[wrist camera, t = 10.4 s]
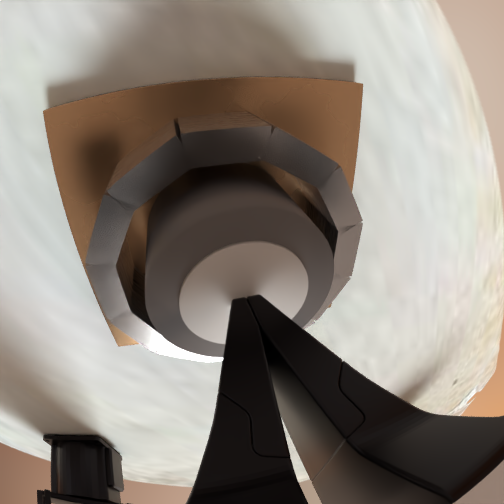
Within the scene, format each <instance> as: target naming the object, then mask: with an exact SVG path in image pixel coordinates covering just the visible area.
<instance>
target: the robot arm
mask: <svg viewBox="0 0 504 504" xmlns="http://www.w3.org/2000/svg"><path fill="white" fill-rule="evenodd" d="M280 415H281V416H280ZM281 417H282V419H283V421H284V424H285V426H286V428H287V430H288V433H289V435H290V437H291V439H292V441H293V443H294V446H295V448H296V450H297V452H298V454H299V456H300V459H301V461H302V463H303V465H304V467H305V469H306V471H307V473H308V475H309V478H310V480H311V481H312V484H313V486H314V488H315V490H316V492H317V494H318V496H319V498H320V500H321V502H322V504H504V416H500V417H468V416H450V415H438V414H433V413H429V412H426V411H423V410H421V409H419V408H417V407H415V406H413V405H411V404H410V403H408V402H406V401H404V400H403V399H401V398H399V397H397V396H396V395H394V394H392V393H390V392H389V391H387V390H385V389H384V388H382V387H380V386H379V385H377V384H376V383H374V382H372V381H371V380H369V379H368V378H366V377H365V376H363V375H362V374H361V373H359V372H358V371H357V370H355V369H354V368H352V367H351V366H350V365H349V364H347V363H346V362H345V361H343V362H342V359H341V358H339V357H338V356H337V355H336V354H334V353H333V352H332V351H330V350H329V349H328V348H327V347H325V346H324V345H323V344H322V343H320V342H319V341H318V340H316V339H315V338H314V337H313V336H311V335H310V334H309V333H308V332H306V331H305V330H304V329H303V328H301V327H300V326H299V325H298V324H296V323H295V322H294V321H293V320H291V319H290V318H289V317H288V316H286V315H285V314H284V313H283V312H281V311H280V310H279V309H278V308H276V307H275V306H274V305H273V304H271V303H270V302H269V301H268V300H267V299H265V298H264V297H263V296H262V295H260V294H257V295H252V296H248V297H247V298H245V297H241V298H235V299H233V300H232V302H231V308H230V315H229V321H228V328H227V334H226V341H225V348H224V355H223V362H222V368H221V375H220V382H219V389H218V395H217V402H216V408H215V414H214V419H213V424H212V428H211V431H210V435H209V439H208V442H207V446H206V449H205V452H204V455H203V458H202V462H201V465H200V468H199V471H198V474H197V478H196V481H195V483H194V486H193V489H192V491H191V494H190V496H189V498H188V500H187V502H186V504H308V502H307V500H306V498H305V496H304V494H303V492H302V489H301V487H300V485H299V483H298V480H297V478H296V475H295V472H294V469H293V465H292V461H291V459H290V453H289V449H288V445H287V441H286V437H285V432H284V428H283V424H282V420H281ZM43 440H44V441H45V442H47V443H48V444H49V445H51V491H50V490H46V489H45V490H44V491H41V490H37V502H38V504H51V503H53V504H121V499H120V492H122V491H123V490H124V484H123V475H122V465H121V461H122V456H121V455H120V454H118V453H117V452H116V451H115V450H114V449H112V448H111V447H110V446H109V445H108V444H107V443H106V442H104V441H103V440H102V439H101V438H100V437H97V436H51V435H44V436H43ZM127 504H129V503H127Z"/></svg>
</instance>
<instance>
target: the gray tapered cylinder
mask: <svg viewBox="0 0 504 504" xmlns="http://www.w3.org/2000/svg"><path fill="white" fill-rule="evenodd" d="M333 276H334V259H333V254H332V250H331V248H330V245H329V243H328V241H327V240H326V238H325V236H324V235H323V234H322V232H321V231H320V230H319V229H318V228H317V227H316V225H315V224H314V223H313V222H312V221H311V220H310V218H309V217H308V216H307V215H306V214H305V213H304V212H303V210H302V209H301V208H300V207H299V206H298V205H297V204H296V203H295V201H294V200H293V199H292V198H291V197H290V196H289V195H288V194H287V193H286V191H285V190H284V189H283V188H282V187H281V186H280V185H279V184H278V183H277V182H276V181H275V180H274V179H273V177H271V176H270V175H269V174H267V173H266V172H265V171H263V170H261V169H259V168H258V167H255V166H253V165H250V164H247V163H233V164H223V165H214V166H206V167H198V168H191V169H190V170H188V171H187V172H186V173H184V174H183V175H181V176H180V177H179V178H177V179H176V180H175V181H173V182H172V183H171V184H169V185H168V186H166V187H165V188H164V189H163V190H162V191H161V193H160V194H159V195H158V197H157V198H156V200H155V202H154V204H153V206H152V208H151V212H150V215H149V219H148V225H147V240H146V263H145V304H146V309H147V313H148V315H149V318H150V320H151V322H152V324H153V325H154V327H155V328H156V330H157V331H158V332H159V333H160V334H161V335H162V336H163V337H164V338H165V339H166V340H167V341H169V342H170V343H172V344H173V345H175V346H177V347H178V348H180V349H183V350H185V351H187V352H190V353H194V354H197V355H202V356H208V357H223V355H224V348H225V341H226V334H227V328H228V321H229V315H230V308H231V302H232V300H233V299H235V298H241V297H245V298H247V297H248V296H252V295H257V294H260V295H262V296H263V297H264V298H265V299H267V300H268V301H269V302H270V303H271V304H273V305H274V306H275V307H276V308H278V309H279V310H280V311H281V312H283V313H284V314H285V315H286V316H288V317H289V318H290V319H291V320H293V321H294V322H295V323H296V324H298V325H299V326H300V327H301V328H303V327H304V326H305V325H306V324H307V323H308V322H309V321H310V320H311V319H312V318H313V317H314V316H315V315H316V313H317V312H318V311H319V309H320V308H321V306H322V305H323V303H324V301H325V300H326V298H327V296H328V293H329V291H330V289H331V285H332V281H333Z"/></svg>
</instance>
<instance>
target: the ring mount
mask: <svg viewBox="0 0 504 504" xmlns="http://www.w3.org/2000/svg"><path fill="white" fill-rule="evenodd" d="M362 93H363V84H361V83H356V82H348V81H338V80H327V79H313V78H293V77H236V78H216V79H202V80H191V81H181V82H172V83H164V84H157V85H150V86H144V87H138V88H132V89H127V90H121V91H116V92H111V93H107V94H102V95H97V96H93V97H89V98H85V99H81V100H77V101H73V102H70V103H66V104H62V105H59V106H56V107H52V108H49V109H46V110H44V111H43V114H44V120H45V127H46V132H47V138H48V143H49V148H50V153H51V158H52V162H53V167H54V171H55V175H56V179H57V183H58V187H59V191H60V195H61V198H62V202H63V206H64V209H65V212H66V216H67V219H68V222H69V226H70V229H71V232H72V235H73V238H74V241H75V244H76V247H77V250H78V253H79V255H80V258H81V261H82V264H83V266H84V269H85V272H86V274H87V277H88V279H89V282H90V284H91V287H92V289H93V292H94V294H95V297H96V299H97V301H98V304H99V306H100V308H101V310H102V313H103V315H104V317H105V319H106V322H107V324H108V326H109V328H110V330H111V332H112V334H113V336H114V339H115V341H116V343H117V345H118V346H126V345H134V344H141V345H142V346H144V347H145V348H147V349H148V350H150V351H151V352H155V351H156V354H160V355H166V356H172V357H177V358H183V359H190V360H196V361H203V362H210V360H211V359H212V362H216V361H222V360H223V357H208V356H202V355H197V354H194V353H190V352H187V351H185V350H183V349H180V348H178V347H177V346H175V345H173V344H172V343H170V342H169V341H167V340H166V339H165V338H164V337H163V336H162V335H161V334H160V333H159V332H158V331H157V330H156V328H155V327H154V325H153V324H152V322H151V320H150V318H149V315H148V313H147V309H146V304H145V263H146V240H147V225H148V219H149V215H150V212H151V208H152V206H153V204H154V202H155V200H156V198H157V197H158V195H159V194H160V193H161V191H162V190H163V189H164V188H165V187H166V186H168V185H169V184H171V183H172V182H173V181H175V180H176V179H177V178H179V177H180V176H181V175H183V174H184V173H186V172H187V171H188V170H190V169H191V168H198V167H206V166H214V165H223V164H233V163H247V164H250V165H253V166H255V167H258V168H259V169H261V170H263V171H265V172H266V173H267V174H269V175H270V176H271V177H273V179H274V180H275V181H276V182H277V183H278V184H279V185H280V186H281V187H282V188H283V189H284V190H285V191H286V193H287V194H288V195H289V196H290V197H291V198H292V199H293V200H294V201H295V203H296V204H297V205H298V206H299V207H300V208H301V209H302V210H303V212H304V213H305V214H306V215H307V216H308V217H309V218H310V220H311V221H312V222H313V223H314V224H315V225H316V227H317V228H318V229H319V230H320V231H321V232H322V234H323V235H324V236H325V238H326V240H327V241H328V243H329V245H330V248H331V250H332V254H333V259H334V276H333V281H332V285H331V289H330V291H329V293H328V296H327V298H326V300H325V301H324V303H323V305H322V306H321V308H320V309H319V311H318V312H317V313H316V315H315V316H314V317H313V318H312V319H311V320H310V321H309V322H308V323H307V324H306V325H305V326H304V327H303V329H305V328H307V327H308V326H310V325H312V324H313V323H315V322H314V320H318V319H319V318H320V316H321V315H322V314H323V313H324V311H325V310H326V309H327V308H329V307H331V304H332V301H333V300H334V299H335V298H336V296H337V295H338V294H339V292H340V291H341V290H342V289H343V287H344V286H345V285H346V283H347V282H348V281H349V279H350V278H349V276H352V272H353V267H354V263H355V259H356V254H357V249H358V245H359V240H360V235H361V230H362V225H363V223H361V221H363V220H362V218H361V215H360V212H359V210H358V207H357V204H356V202H355V199H354V197H353V194H352V188H353V181H354V174H355V166H356V158H357V149H358V140H359V130H360V119H361V107H362Z"/></svg>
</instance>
